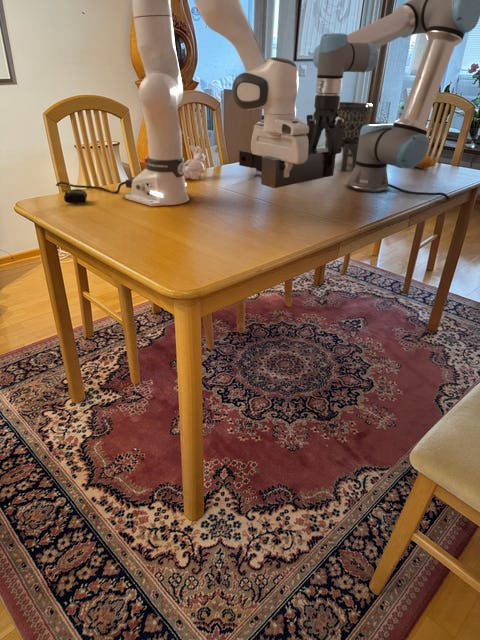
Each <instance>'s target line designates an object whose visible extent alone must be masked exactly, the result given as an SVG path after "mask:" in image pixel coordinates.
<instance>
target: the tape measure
mask: <svg viewBox="0 0 480 640" xmlns="http://www.w3.org/2000/svg"><path fill="white" fill-rule="evenodd" d="M87 198H88V193H87V192H86V191H85V190H84V189H82V188H75V189H74V188H73V189H69V190H65V192H64V196H63V200H64V202H65V203H67V204H74V205H78V204H82V203H83V204H84V203H85V204H86V203H87Z"/></svg>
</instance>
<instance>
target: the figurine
mask: <svg viewBox="0 0 480 640" xmlns="http://www.w3.org/2000/svg"><path fill="white" fill-rule="evenodd" d="M189 149H190V151H191V152H192V154H193V159H191V158H190V159H187V160H186V161H185V162H184V167H185V168H184V178H186V179H187V178H188V179H190V180H200V178H199V176H200V175H201V174H204V173H205V171H206V169H205V165H204V162H205V159H206V154H204V153H203V149H202V147H200V146H199V145H197V144H196V146H195V145H193V144H191V145H189Z"/></svg>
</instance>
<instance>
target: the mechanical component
mask: <svg viewBox="0 0 480 640" xmlns="http://www.w3.org/2000/svg"><path fill="white" fill-rule="evenodd" d="M238 154H239V155H238V157H239V159H238V166H240V167H245V168H250V169H255V173H256V174H257V175H261V176H262V156H259V155H254V154H252V152H251V150H245V149H241V150H239V153H238Z"/></svg>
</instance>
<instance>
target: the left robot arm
mask: <svg viewBox="0 0 480 640" xmlns="http://www.w3.org/2000/svg"><path fill="white" fill-rule="evenodd" d="M171 2H172V1H171V0H131V5H132V6H131V7H132V16H133V24H134V32H135V38H136V46H137V50H138V53H139V56H140V58H141V63H142V66H143V70H144V74H145V76H144V78H143V79H142V80H141V82H140V84H139V87H138V98H139V102H140V104H141V111H142V116H143V120H144V124H145V128H146V135H147V136H146V137H147V149H148V157H146V158H144V159H142V164H145V167H144V169H143V170H142V171H141V172H140V173H138V174H137V175H136V176H135V177H130V178H128V179H125V181H122V182H120V183H119V184H118V186H117V189H116V190H115V191H112V190H109V189H108V188H105V187H102V186H98V185H97V186H96V185H80V184H79V185H78V184H73V183H68V182H66V181H59V182H57V183H56V184H55V186H56V187H58V186H59V185H65V186H69V187H71V188H77V189H97V190H102V191H104V192H107V193H111V194H118V193H120V190H121V187H122V186H123V185H125V188H129V189H131V191H129V192H128V193H126V194H125V196H124V198H125V199H126V200H128V201H129V200H130V201H132V202H135V203H139V204H143V205H147V206H149V207H160V206H175V205H182V204H184V203H187V202H189V200H190V197H189V194H188V191H187V182H186V180H185V177H184V168H185V167H184V164H185V158H184V156H183V155H184V154H183V135H182V133H183V132H182V129H181V124H180V117H179V109H178V106H179V105H180V103H181V102H182V100H183V96H184V88H183V82H182V75H181V70H180V65H179V60H178V55H177V49H176V41H175V33H174V32H175V31H174V23H173V13H172V5H171ZM193 2H194V4H195V6H196V7H195V8H196V9H197V11H198V14H199V15H200V17H201V19H202V20H203V22H204V23H205V25H206V26H207V27H208V28H209V29H211V30H212V31H214V32H216V33H217V34H219V35H221V36H222V37H224V38H225V39H226V40H227V41H229V42H230V43H231V44H232V46H233V47H234V49H235V51H236V52H237V54H238V56H239V59H240V62H241V63H242V65H243V66H244V70H245V71H244V72H242V73H240V74H239V75H237V76H236V77H235V79H234V80H233V83H232V86H231V95H232V99H233V102H234V103H235V104H236V106H237V107H239V108H240V109H243V110H245V111H253V110H260V109H262V110H263V114H264V115H263V121H257V122H256V123H255V124H254V125H253V131H252V135H251V142H250V151H251V152H252V154H254V155H259V156H262V157H265V156H268V157H272V158H276V159H280V160H281V161H285V165H286V167H285V169H284V170H283V171H282V177H285V178H287V177H289V171H290V170H291V168H292V166H293V163H294V164H302V163H305V162H306V160H307V158H308V148H309V141H308V137H307V135H306V134H308V132H309V126H308V125H307V123H305V122H303V120H300V119H299V118H298V117H297V109H296V101H297V98H298V89H299V76H298V75H299V71H298V67H297V64H296V63H295V62H294V61H292V60H290V59H287V58H283V57H275V56H274V57H270V58H268V60H267V59H266V57H265V55H264V53H263V51H262V48H261V46H260V43H259V41H258V39H257V36H256V34H255V32H254V30H253V28H252V27H251V25H250V22H249V20H248V17H247V16H246V13H245V10H244V8H243V6H242V3H241V0H193ZM69 184H70V185H69Z"/></svg>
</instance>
